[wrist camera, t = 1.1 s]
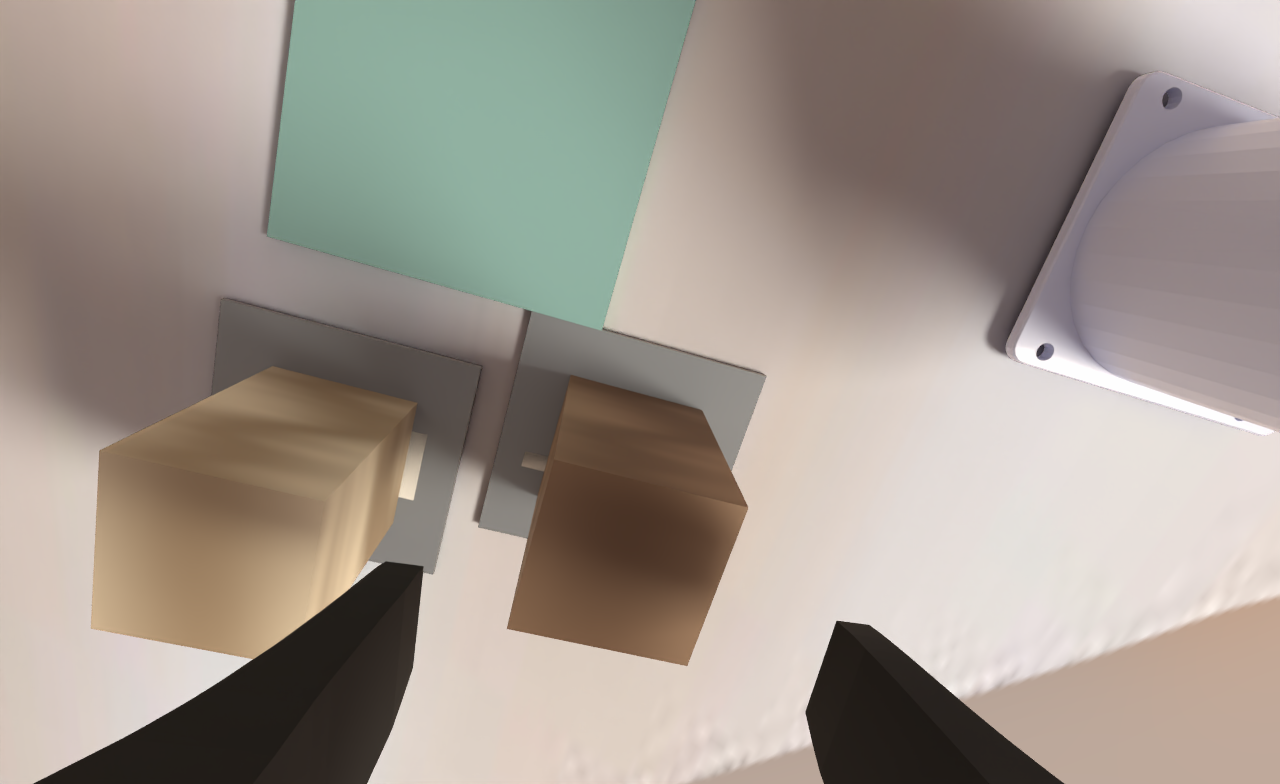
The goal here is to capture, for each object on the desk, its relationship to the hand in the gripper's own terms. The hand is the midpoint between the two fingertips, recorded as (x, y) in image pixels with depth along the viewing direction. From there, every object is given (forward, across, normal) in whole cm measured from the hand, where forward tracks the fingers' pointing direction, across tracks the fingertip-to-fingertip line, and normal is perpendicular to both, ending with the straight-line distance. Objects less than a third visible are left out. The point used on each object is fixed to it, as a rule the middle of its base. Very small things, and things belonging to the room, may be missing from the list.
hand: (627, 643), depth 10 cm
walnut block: (+8, 0, 0) cm, 8 cm away
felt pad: (+8, +5, -9) cm, 13 cm away
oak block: (+8, +8, +1) cm, 12 cm away
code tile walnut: (+8, 0, 0) cm, 8 cm away
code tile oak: (+8, +8, +1) cm, 12 cm away
